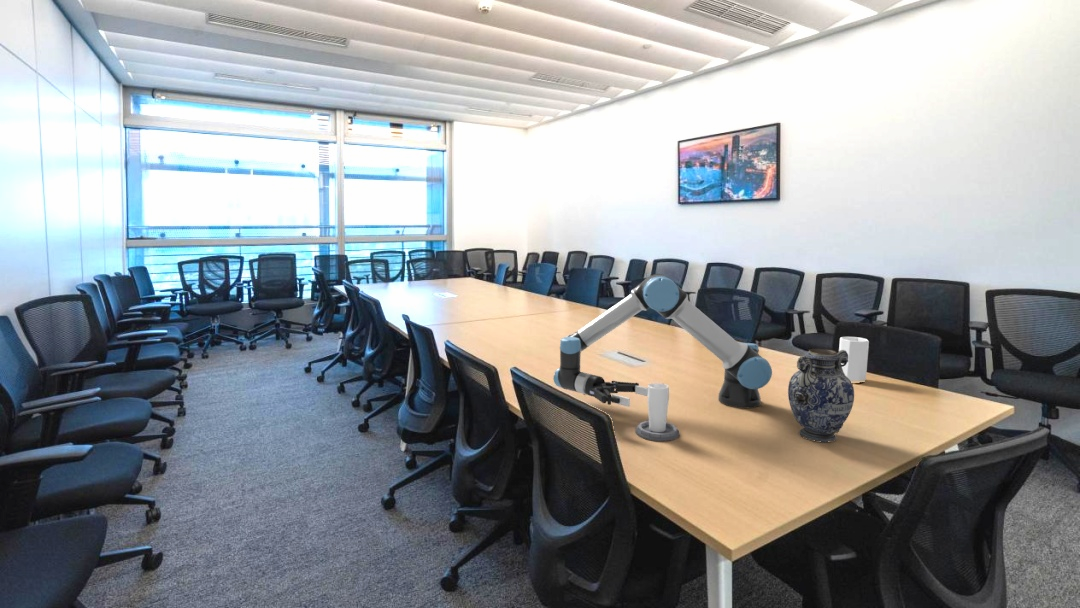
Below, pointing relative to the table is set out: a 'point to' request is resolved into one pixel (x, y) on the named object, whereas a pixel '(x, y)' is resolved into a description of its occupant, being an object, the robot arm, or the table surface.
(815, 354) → the decorative vase
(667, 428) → the coaster
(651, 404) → the drinking glass
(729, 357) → the robot arm
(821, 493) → the table surface
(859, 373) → the cup
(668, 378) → the table surface
